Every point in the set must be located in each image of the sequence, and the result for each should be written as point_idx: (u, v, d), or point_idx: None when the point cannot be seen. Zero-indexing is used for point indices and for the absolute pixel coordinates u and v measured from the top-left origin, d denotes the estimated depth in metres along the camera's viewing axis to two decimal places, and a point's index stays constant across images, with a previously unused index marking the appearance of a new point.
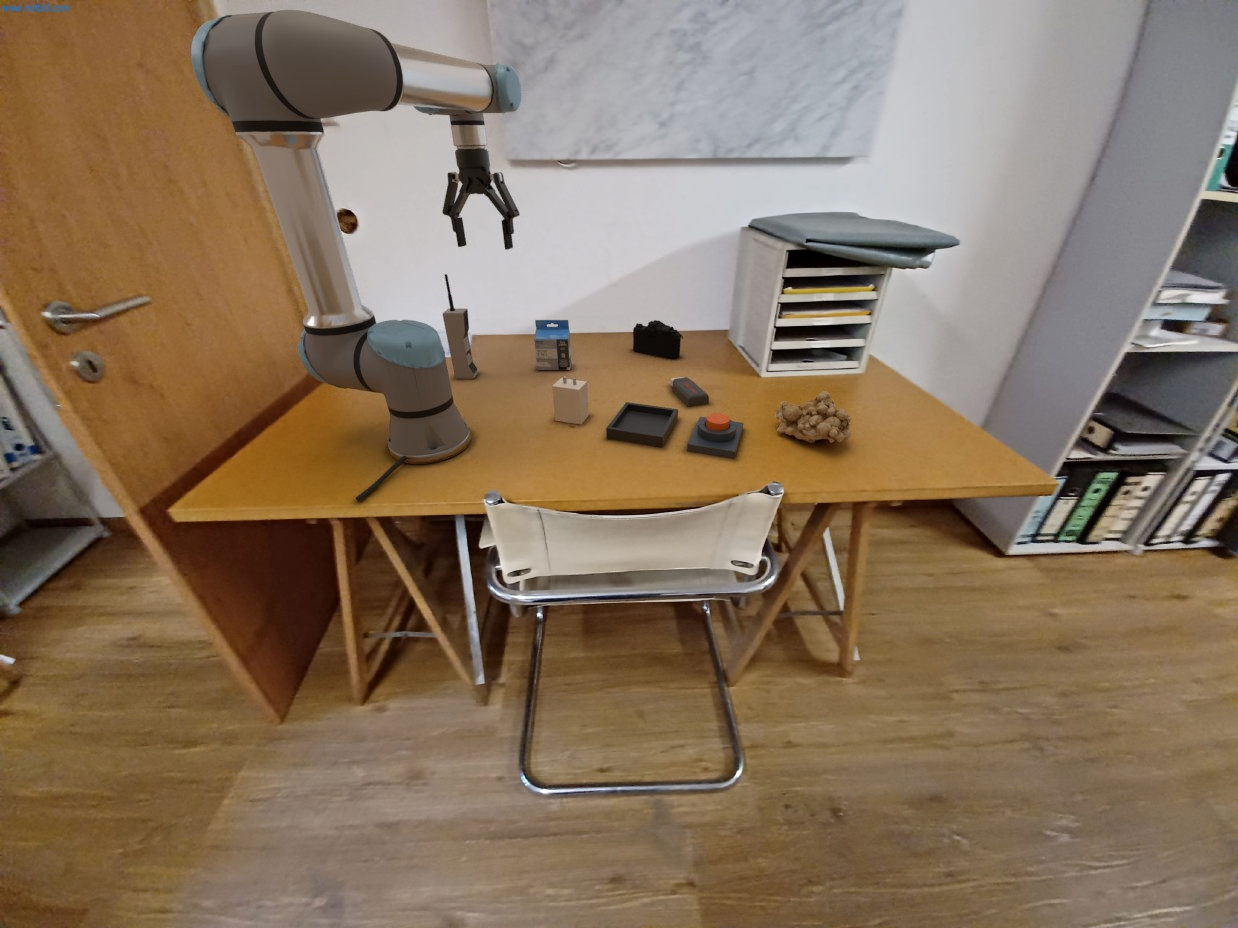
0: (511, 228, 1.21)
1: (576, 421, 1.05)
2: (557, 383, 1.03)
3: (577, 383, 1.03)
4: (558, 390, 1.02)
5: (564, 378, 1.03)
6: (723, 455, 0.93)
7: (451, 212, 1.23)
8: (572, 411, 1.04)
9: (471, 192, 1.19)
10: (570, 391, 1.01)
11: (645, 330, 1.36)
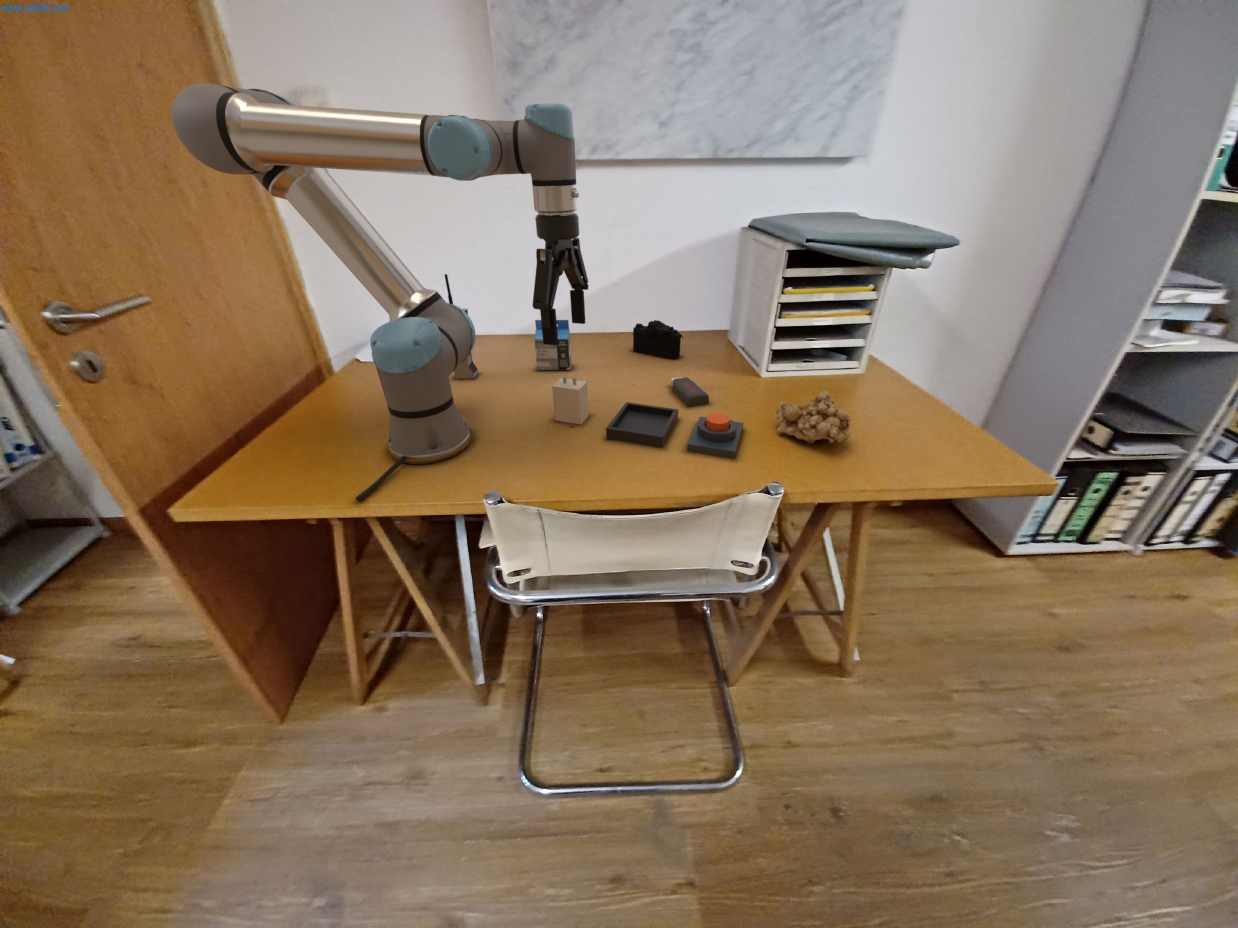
0: (543, 321, 0.89)
1: (576, 421, 1.05)
2: (557, 383, 1.03)
3: (577, 383, 1.03)
4: (558, 390, 1.02)
5: (564, 378, 1.03)
6: (723, 455, 0.93)
7: None
8: (572, 411, 1.04)
9: None
10: (570, 391, 1.01)
11: (645, 330, 1.36)
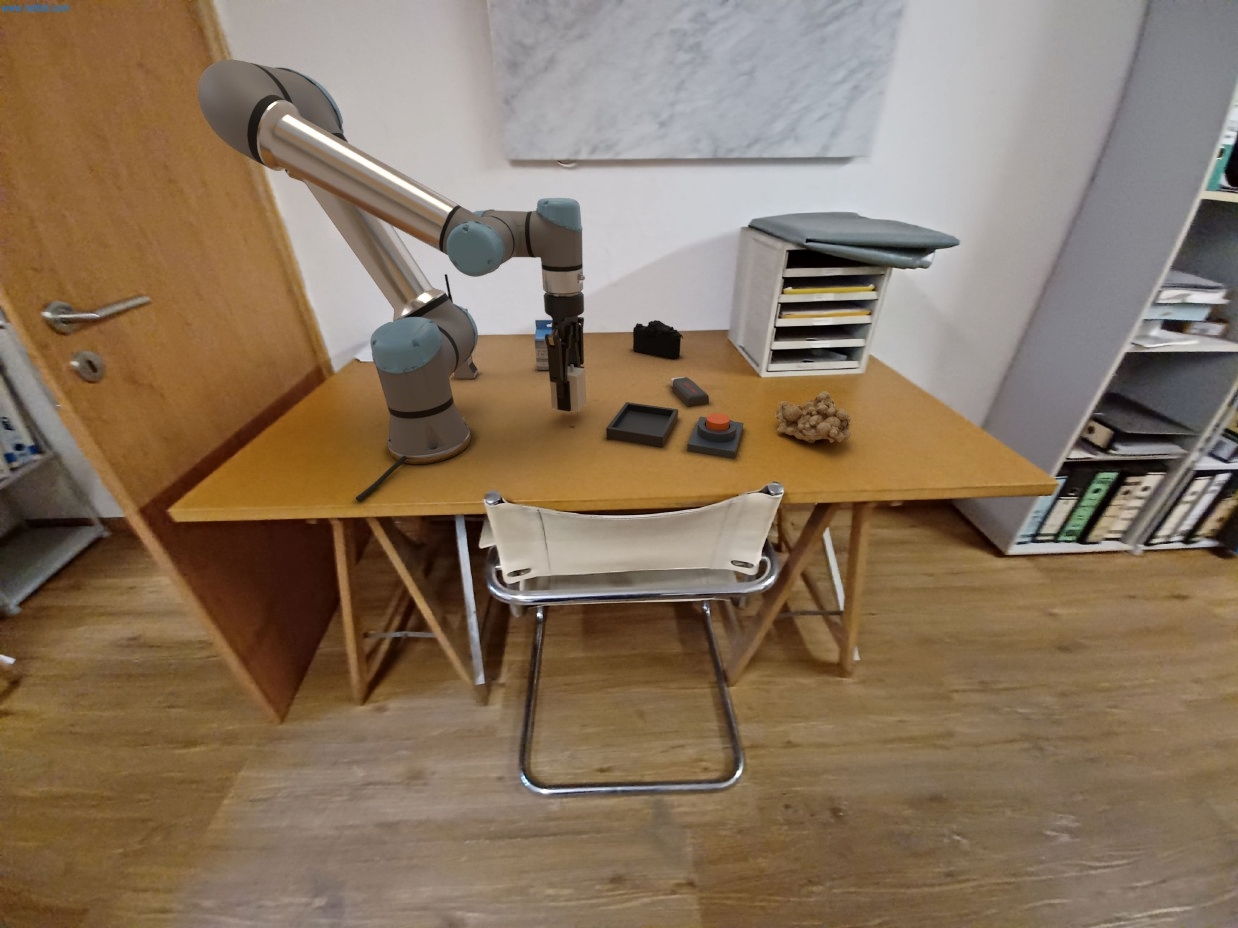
0: (558, 391, 1.00)
1: (573, 409, 1.03)
2: None
3: (575, 370, 1.02)
4: None
5: None
6: (723, 455, 0.93)
7: None
8: None
9: None
10: (567, 378, 1.00)
11: (645, 330, 1.36)
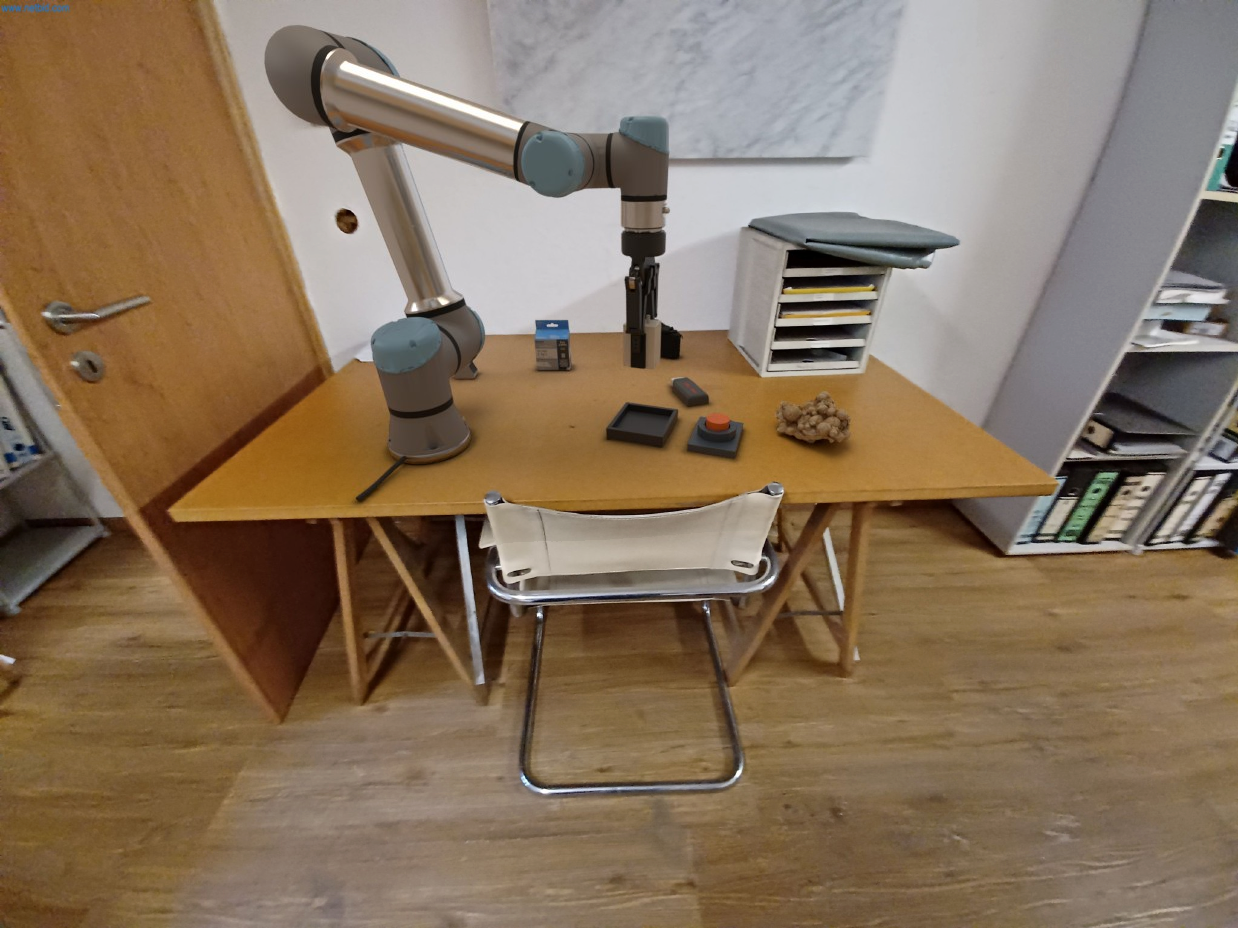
0: (634, 345, 0.90)
1: (648, 366, 0.93)
2: None
3: (650, 322, 0.91)
4: None
5: None
6: (723, 455, 0.93)
7: None
8: None
9: None
10: (644, 330, 0.90)
11: None
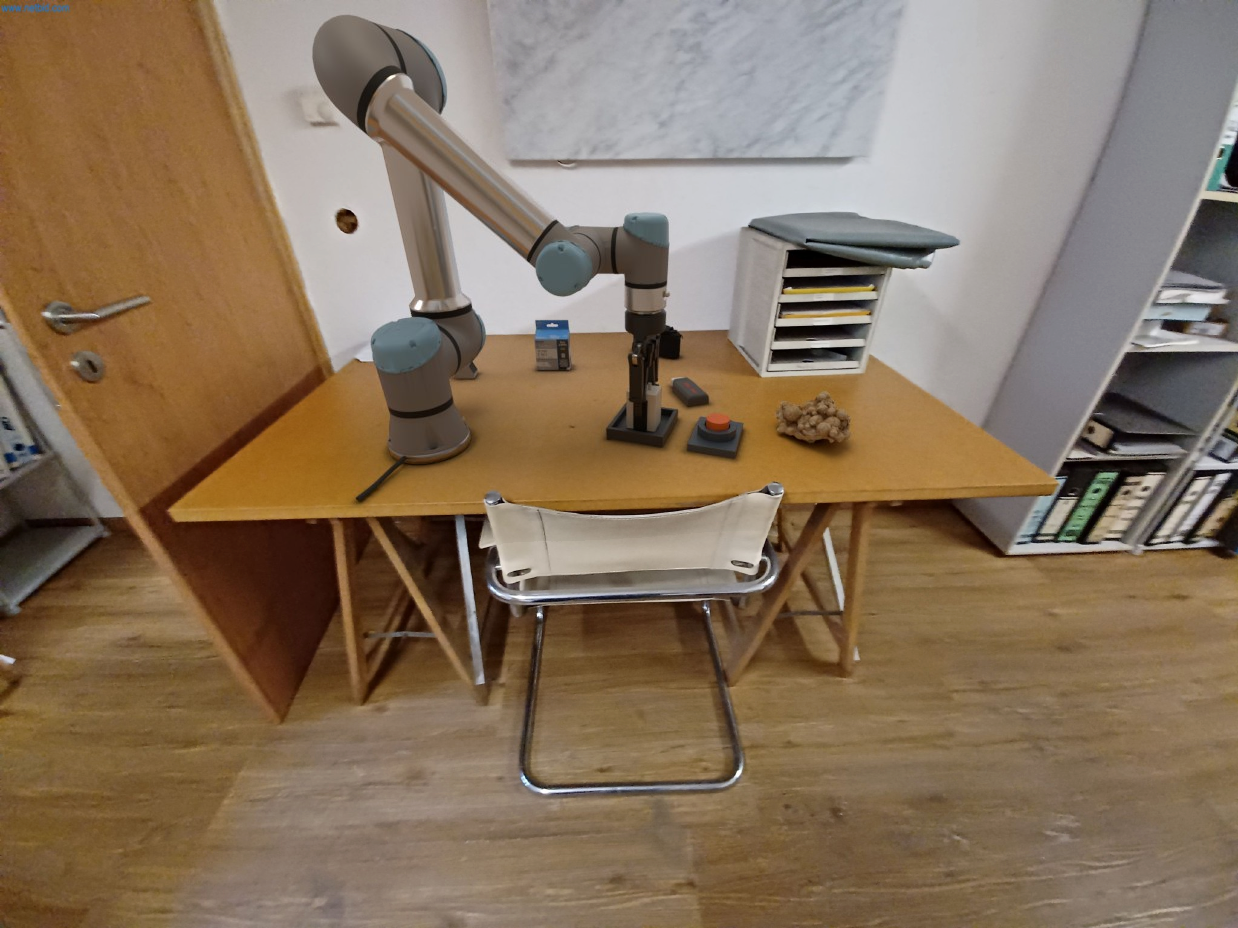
0: (636, 411, 0.97)
1: (650, 428, 1.00)
2: None
3: (652, 388, 0.98)
4: None
5: None
6: (723, 455, 0.93)
7: None
8: None
9: None
10: (646, 397, 0.96)
11: None
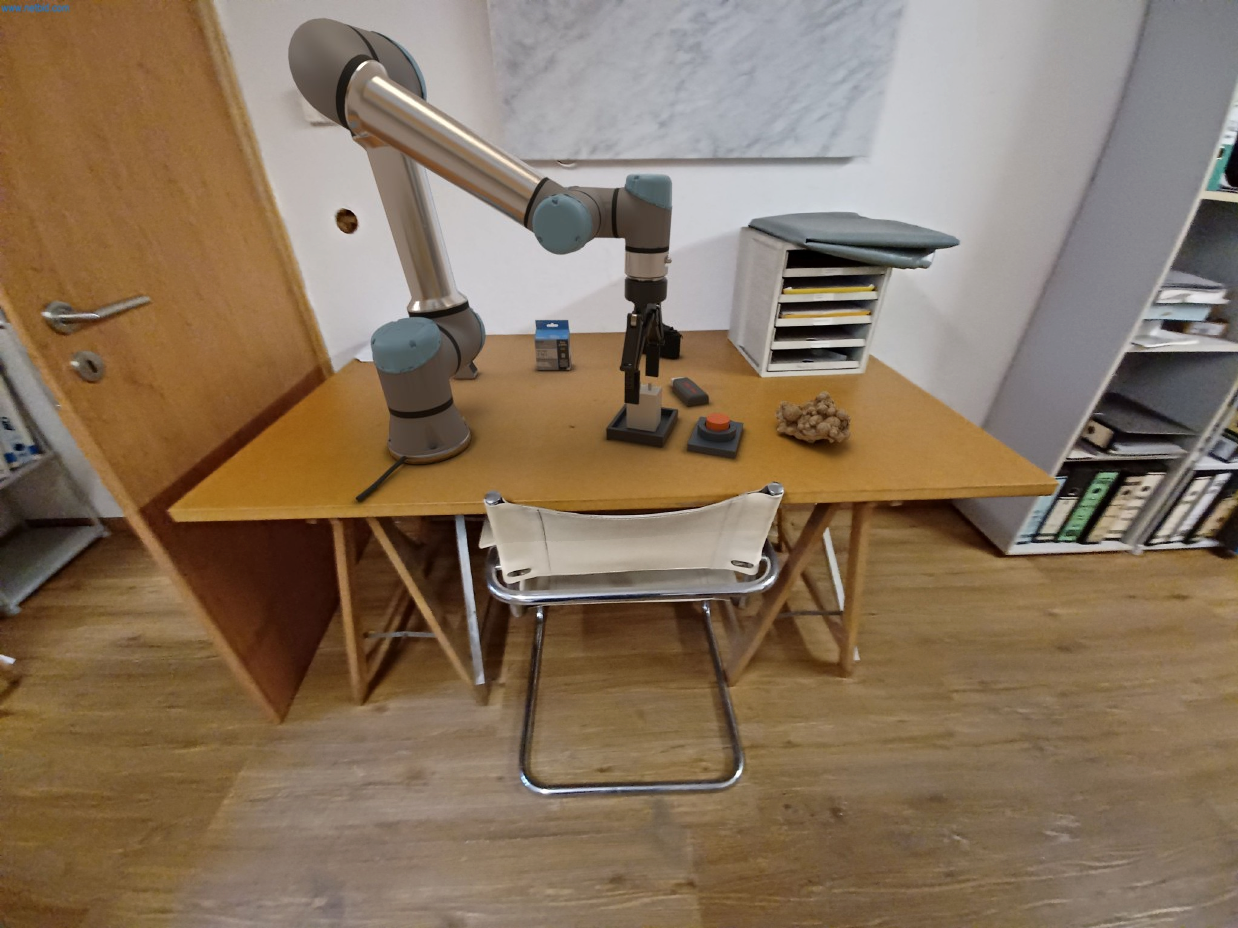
0: (628, 382, 0.89)
1: (650, 428, 1.00)
2: None
3: (652, 388, 0.98)
4: None
5: None
6: (723, 455, 0.93)
7: None
8: (646, 418, 0.99)
9: None
10: (646, 397, 0.96)
11: None
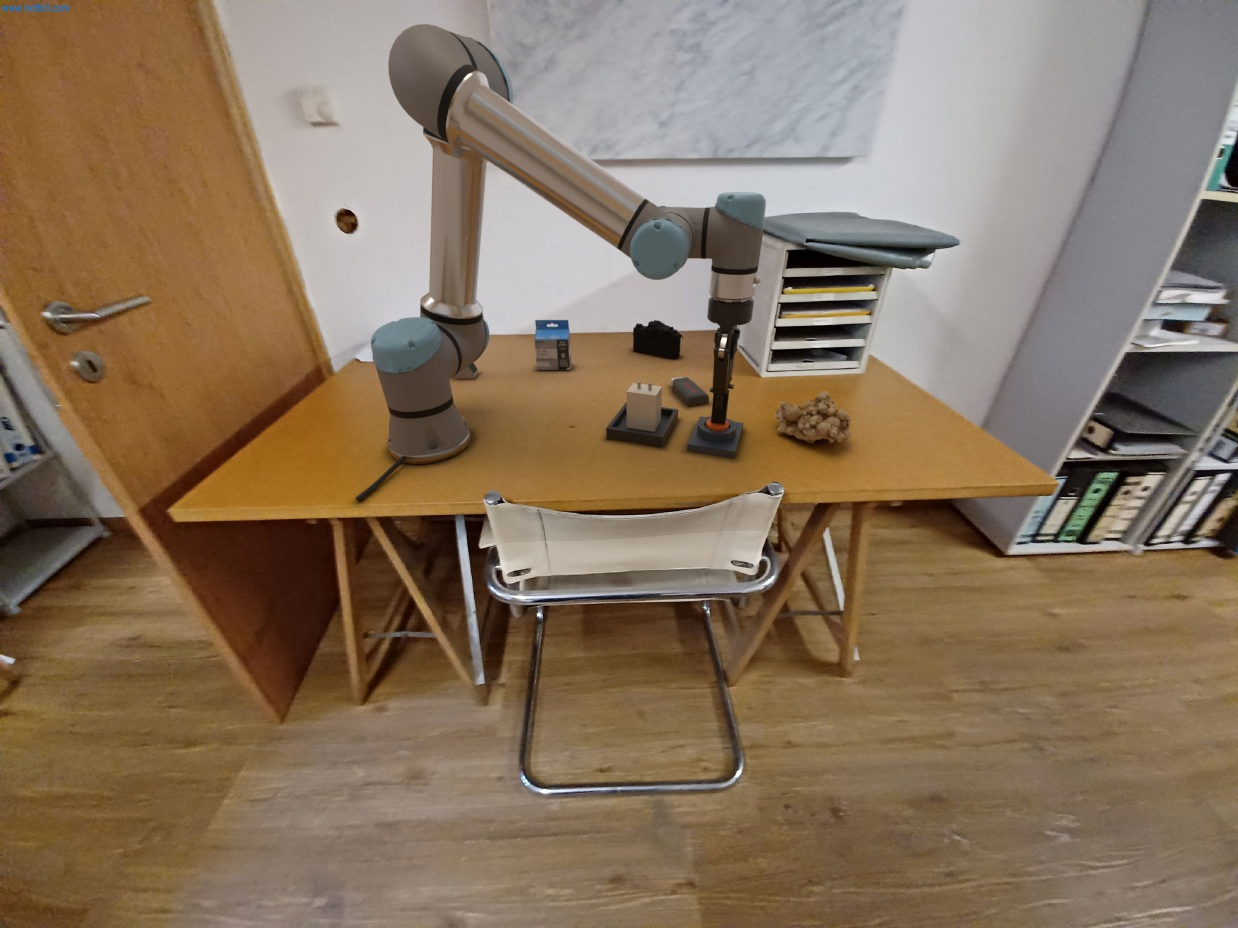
0: (717, 403, 0.93)
1: (650, 428, 1.00)
2: (631, 388, 0.98)
3: (652, 388, 0.98)
4: (633, 396, 0.97)
5: (639, 383, 0.98)
6: (723, 455, 0.93)
7: None
8: (646, 418, 0.99)
9: None
10: (646, 397, 0.96)
11: (645, 330, 1.36)
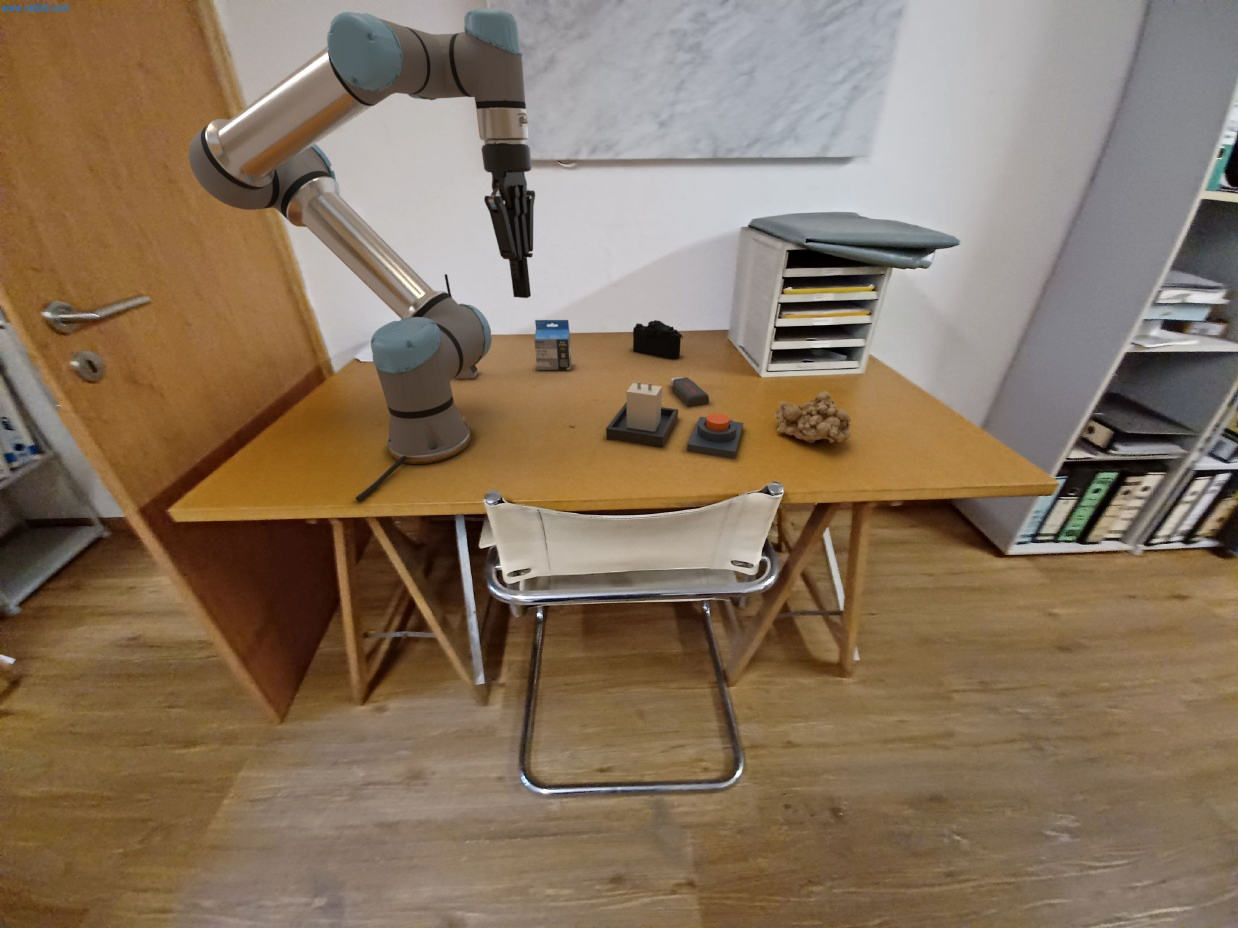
0: (512, 271, 0.87)
1: (650, 428, 1.00)
2: (631, 388, 0.98)
3: (652, 388, 0.98)
4: (633, 396, 0.97)
5: (639, 383, 0.98)
6: (723, 455, 0.93)
7: None
8: (646, 418, 0.99)
9: None
10: (646, 397, 0.96)
11: (645, 330, 1.36)
